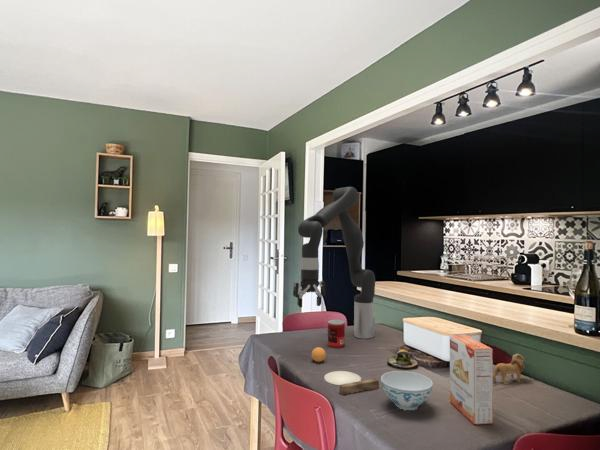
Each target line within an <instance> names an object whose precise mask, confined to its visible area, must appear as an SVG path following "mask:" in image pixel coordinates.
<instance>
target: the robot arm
mask: <svg viewBox="0 0 600 450" xmlns="http://www.w3.org/2000/svg"><path fill="white" fill-rule="evenodd" d="M332 200H333V201H332V202H331V203H329V204H327V205H325V206H323V207H322V208H321V209H320V210H318V211H317V212H316V213H315V214H313V215H311V216H310V217H307V218H306V219H304V220H302V221H301V222H300V224H299V226H298V230H297V231H298V235H299V236H300V237H302V238H305V239H307V238H308V239H309V241H308V242H306V243H303V244H302V246H301V262H300V263H301V264H300V282H297V281H295V282H293V288H292V289H293V292H292V296H293V297H295V298H297V307H299V308H303V297H304V295H305V294H306V293H314V294H315V295H316V306H318V307H321V305H322V297H324V296H326V295H327V292H326V291H327V290H326V282H325V281H323V280H320V281H319V276H320V275H319V273H320V272H319V271H320V263H319V262H320V261H319V247H320V243H321V240H322V237H323V233H324V232H323V231H324V230H323V229H324V228H325V227H327V226H328V225H329V224H330V223H331V222H332V221H333V220H334V219H336V218H337V216H338V220H339V223H340V228H341V232H342V233H341V234H342V238H343V241H344V245H345V250H346V254H347V255H346V256H347V259H348V268H349V274H350V281H351V284H352V285H353V286H354V287H356V288H361V289H360V293H359V294H356V295H354V298H353V301H354V302H353V303H354V306H353V308H354V311H353V314H354V315H353V316H354V320H353V329H354V333H353V335H354V337H355V338H358V339H363V340H364V339H365V340H366V339H372V338H375V333H376V331H375V329H376V328H375V325H376V323H375V322H376V321H375V319H376V318H375V317H374V297H375V294H376V293H375V291H376V290H375V289H376V275H375V273H374V271H373V270H370V269H365V268H364V269H363V268H362V264H361V263H362V262H361V255H362V252H363V248H364V238H363V237H364V236H363V232H362V230H361V228H360V226H359V225H358V224H357V222H355V220H354V219H353V218H352V216H351V215H350V213H349V210H348V209H350V208H351V207H353V206H354V205H356V203H357V202H358V200H359V193H358V190H357V188H355V187H353V186H345V187H339V188H335V189H334V190H333V193H332ZM300 287H301V288H300ZM318 287H320V290H319V288H318ZM299 288H300V290H299Z"/></svg>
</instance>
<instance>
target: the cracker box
mask: <svg viewBox="0 0 600 450" xmlns="http://www.w3.org/2000/svg"><path fill="white" fill-rule="evenodd" d="M493 354H494V351H493V348H492V347H490V346H487V345H486V344H484V343H482V342H481V341H478V340H476V339H475V338H473V337H471V336H470V335H467V334H452V335H449V402H450V403H451V404H452V405H453V406H454V407H455V408H456V409H457V410H458V412H461V413H462V415H463V416H464V417H466V418H467V420H469V421H470V423H472V424H473V425H474V424H476V425H493V424H494V384H493V383H494V382H493V374H494V365H493V363H494V360H493V359H494V358H493V357H494V355H493Z"/></svg>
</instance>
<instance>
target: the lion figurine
mask: <svg viewBox="0 0 600 450" xmlns="http://www.w3.org/2000/svg"><path fill="white" fill-rule="evenodd" d="M525 362H526V361H525V358H524V356H523V355H522V354H521V353H520V354H519V353H515V354H513V355H512V358H511V362H510V363H503V362H501V363H497V364H496V365H495V369H494V371H493V385H495V384H497V383H496V382H497V380H496V379H497V376H498V375H499V374H500V375H501V381H502V383H503V384H505V385H506V386H508V385H509V383H508V382H507V381H506V378H507V377H506V376H507V375H510V377H509V378H510V380H511V381H514V380H515V378H514V374H516V381H517V383H520V384H521V383H522V380H521V377H522V372H524V370H525Z"/></svg>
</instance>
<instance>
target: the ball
mask: <svg viewBox="0 0 600 450" xmlns="http://www.w3.org/2000/svg"><path fill="white" fill-rule="evenodd" d="M311 357H312V359H313V361H314V362H317V363H321V362H323V361H324V360H325V358H326V351H325V349H324V348H322V347H321V346H318V347H315V348H313V349H312V352H311Z"/></svg>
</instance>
